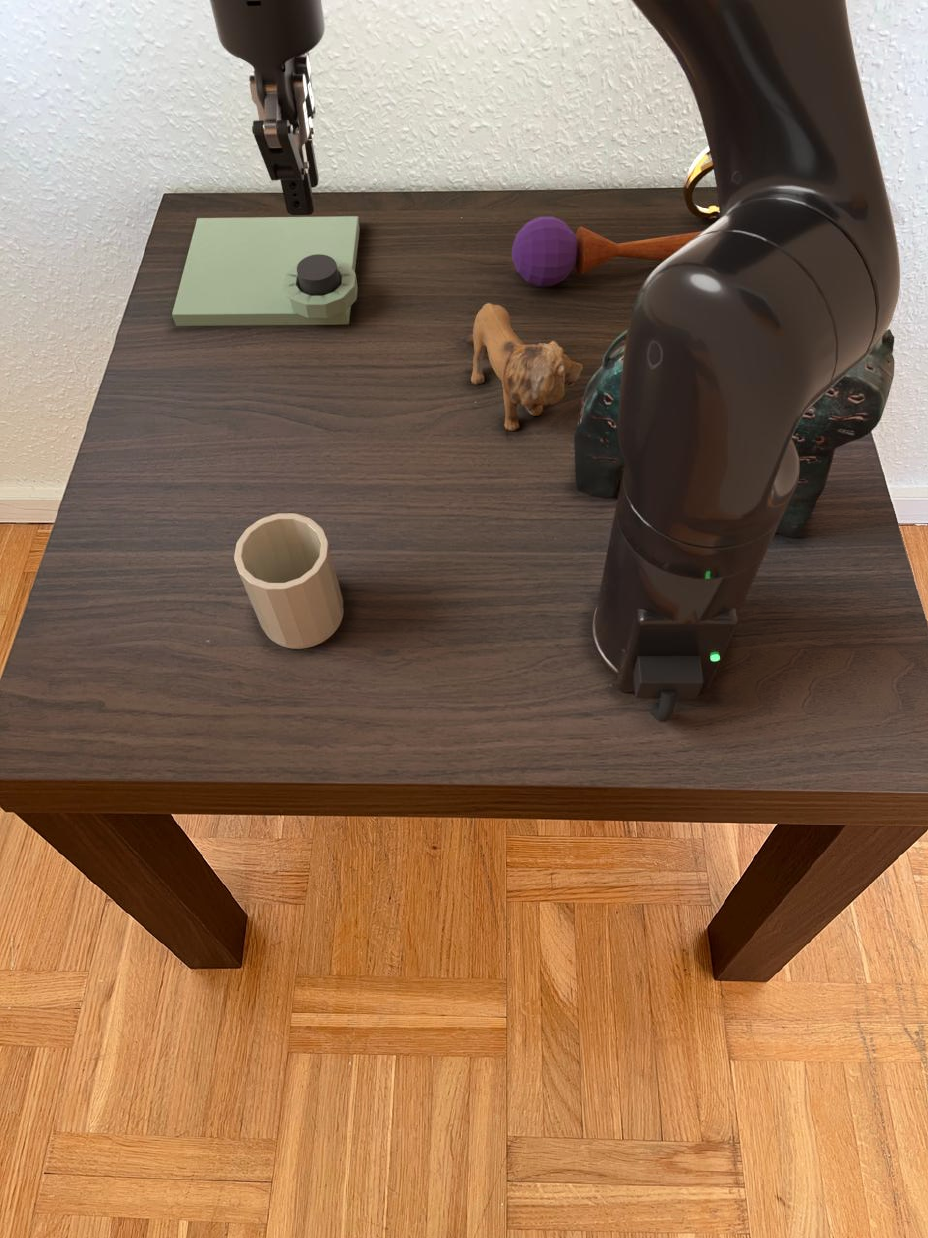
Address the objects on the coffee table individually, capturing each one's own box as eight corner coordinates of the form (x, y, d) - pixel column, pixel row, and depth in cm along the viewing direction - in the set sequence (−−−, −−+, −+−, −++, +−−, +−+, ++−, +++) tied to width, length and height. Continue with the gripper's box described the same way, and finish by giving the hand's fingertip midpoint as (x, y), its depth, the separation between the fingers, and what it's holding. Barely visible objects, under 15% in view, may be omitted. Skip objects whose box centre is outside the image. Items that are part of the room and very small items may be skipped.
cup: (340, 649, 66) (322, 588, 59) (255, 649, 66) (228, 589, 59) (347, 578, 69) (331, 512, 62) (266, 577, 69) (241, 513, 62)
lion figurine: (583, 432, 76) (594, 350, 68) (531, 460, 75) (536, 379, 67) (484, 332, 83) (484, 246, 75) (435, 356, 81) (430, 271, 74)
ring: (681, 231, 89) (697, 153, 83) (673, 211, 91) (688, 133, 84) (750, 224, 90) (772, 146, 83) (742, 204, 91) (762, 126, 85)
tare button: (337, 296, 82) (334, 280, 80) (297, 296, 82) (294, 280, 80) (341, 270, 84) (338, 253, 82) (302, 270, 84) (298, 253, 82)
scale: (356, 330, 83) (352, 303, 81) (174, 332, 84) (164, 305, 81) (367, 228, 91) (363, 200, 88) (200, 230, 91) (192, 202, 89)
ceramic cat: (825, 500, 72) (931, 291, 55) (817, 565, 69) (927, 365, 52) (579, 449, 75) (606, 237, 58) (560, 509, 72) (583, 303, 55)
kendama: (740, 248, 82) (521, 254, 80) (718, 294, 87) (512, 301, 85) (727, 197, 84) (513, 202, 82) (706, 245, 89) (505, 250, 87)
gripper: (219, -85, 65) (269, 149, 79) (185, 17, 57) (247, 254, 72) (324, -87, 64) (355, 148, 79) (303, 15, 57) (341, 253, 72)
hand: (303, 197), depth 75 cm, fingers open, 3 cm apart
